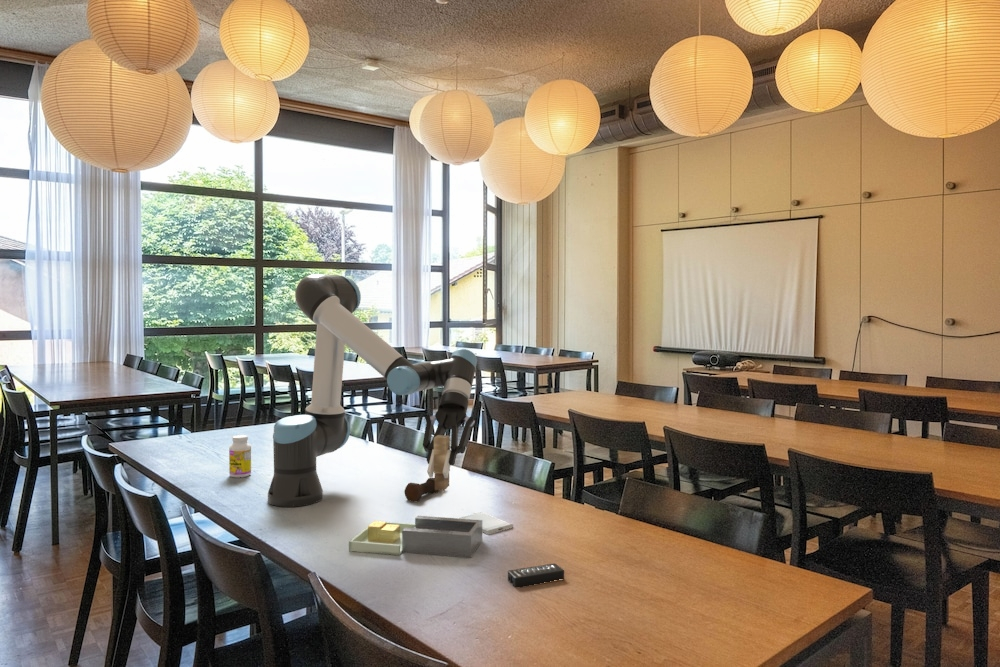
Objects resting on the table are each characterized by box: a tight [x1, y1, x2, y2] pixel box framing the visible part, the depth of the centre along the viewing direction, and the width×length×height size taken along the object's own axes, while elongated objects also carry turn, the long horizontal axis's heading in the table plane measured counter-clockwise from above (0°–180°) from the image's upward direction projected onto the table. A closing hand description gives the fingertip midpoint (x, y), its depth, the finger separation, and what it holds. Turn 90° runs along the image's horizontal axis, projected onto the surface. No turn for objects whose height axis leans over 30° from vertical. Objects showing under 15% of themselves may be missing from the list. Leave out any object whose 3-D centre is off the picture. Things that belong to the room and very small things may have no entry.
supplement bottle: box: [228, 434, 252, 479], centre depth 221 cm, size 7×7×13 cm
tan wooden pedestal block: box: [433, 434, 451, 491], centre depth 171 cm, size 3×4×13 cm
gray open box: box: [402, 515, 483, 559], centre depth 157 cm, size 16×11×5 cm
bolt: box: [403, 477, 440, 502], centre depth 200 cm, size 6×5×15 cm
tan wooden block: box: [380, 524, 400, 543], centre depth 160 cm, size 4×4×3 cm
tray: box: [348, 521, 415, 556], centre depth 160 cm, size 12×15×2 cm
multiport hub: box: [507, 563, 565, 588], centre depth 139 cm, size 4×11×2 cm, turn 112°
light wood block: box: [367, 520, 387, 542], centre depth 161 cm, size 4×4×3 cm
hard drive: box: [457, 511, 514, 535], centre depth 173 cm, size 2×8×12 cm
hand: (437, 474), depth 168 cm, fingers closed on tan wooden pedestal block, 3 cm apart
